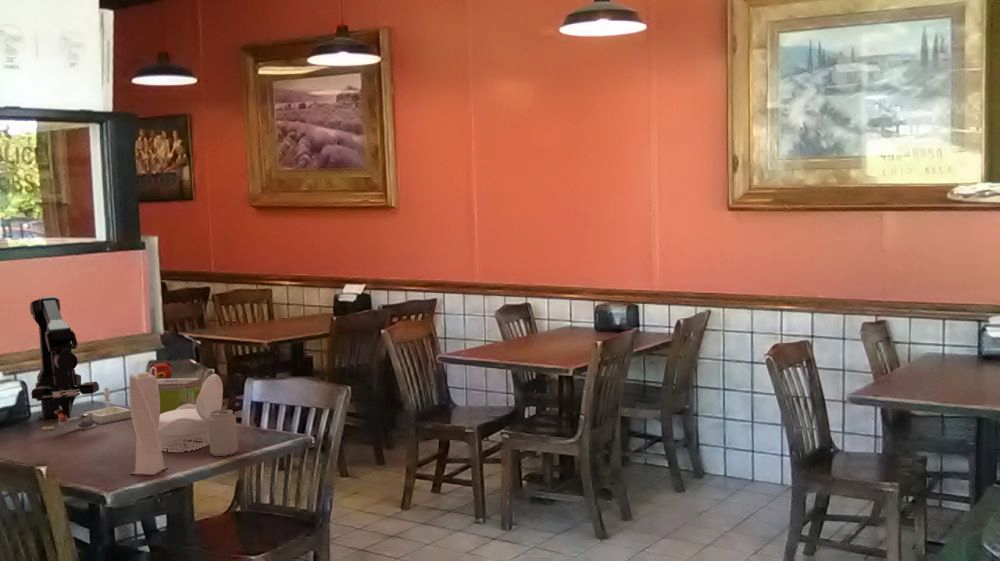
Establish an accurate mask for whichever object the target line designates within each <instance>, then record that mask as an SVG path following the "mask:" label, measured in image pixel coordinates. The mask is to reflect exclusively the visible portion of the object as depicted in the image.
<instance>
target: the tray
mask: <svg viewBox="0 0 1000 561" xmlns="http://www.w3.org/2000/svg"><path fill="white" fill-rule="evenodd" d="M105 410H106V407H105V408H99V409H96V410H91V411H85V412H84V413H92V414H93V423H95V424H99V425H102V424H108V423H113V422H114V423H115V422H117V421H118V422H119V421H123V420H127V419H132V417H131V410H130V409H129V408H124V407H120V406H116V405H115V406H112V407H111V406H110V410H111V413H112V414H107V415H103V414H105ZM101 415H102V416H101Z"/></svg>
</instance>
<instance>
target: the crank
mask: <svg viewBox="0 0 1000 561" xmlns="http://www.w3.org/2000/svg"><path fill="white" fill-rule="evenodd" d="M55 414H58V417H57V418H58V426H62V427H63V426H67V425H72V424H76V423H77V424H78V426H90V425H93V423H94V422H93V414H92V413H85V412H81V413H79V414H77V416H74V417H70V418H67V416H66V414H65V412H64V411H63V409H62V408H60V410H57V411H55Z"/></svg>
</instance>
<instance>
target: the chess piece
mask: <svg viewBox="0 0 1000 561" xmlns="http://www.w3.org/2000/svg"><path fill="white" fill-rule="evenodd" d="M103 391H105V392H103V393H102V394H103V396H104V399H103V401H104V402H105V408H106V410H105V414H103V415H107V414H112V413H111V410H110V407H111V406H110V401H111V399H110V395H111V392H109V391H110V388H108V387H107V386H105V388H103ZM101 416H102V415H101Z"/></svg>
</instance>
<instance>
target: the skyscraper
mask: <svg viewBox="0 0 1000 561" xmlns="http://www.w3.org/2000/svg"><path fill="white" fill-rule="evenodd" d="M153 368H154V369H155V376H153V375H151V374H152V369H153ZM149 369H150V368H149ZM156 375H157V369H156V368H155V367H152V368H151V369H150V370H149V372H145V371H143V372H138V373H137V375H134V374H130V375H129V383H128V384H129V387H128V388H129V390H128V391H129V394H128V395H129V407H130V409H129V410H131V417H132V418H131V421H132V425H133V428H134V431H135V436H136V439H135V440H136V441H135V442H136V443H135V470H134V471H132V472H130V473H129V475H130V474H153V475H155V474H156V473H158V472H160V471H161V470H164V469H166V468H168V469H169V466H165V463H164V456H163V450H161V446H160V440H159V437H158V433H157V432H158V425H159V418H160V396H159V389H158V382H157V377H156ZM166 470H167V469H166ZM164 471H165V470H164ZM160 473H161V472H160ZM155 476H156V475H155Z"/></svg>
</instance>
